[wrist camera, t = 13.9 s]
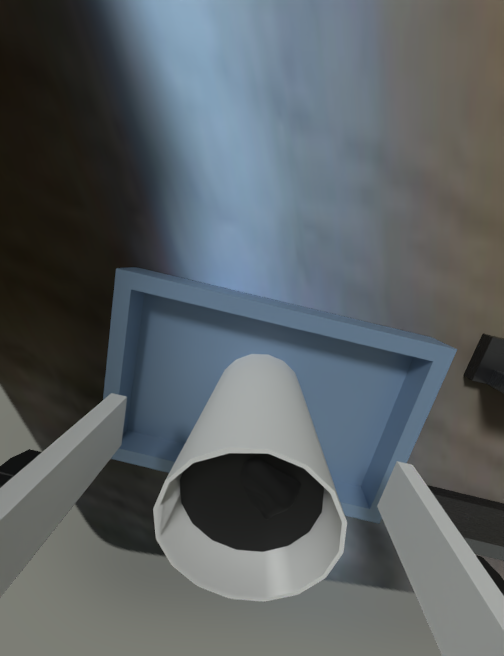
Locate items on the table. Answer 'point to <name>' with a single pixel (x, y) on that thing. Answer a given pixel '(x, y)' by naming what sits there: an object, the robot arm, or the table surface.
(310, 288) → the table surface
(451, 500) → the bracket
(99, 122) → the table surface
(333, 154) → the table surface
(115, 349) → the tray
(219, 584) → the white tumbler
